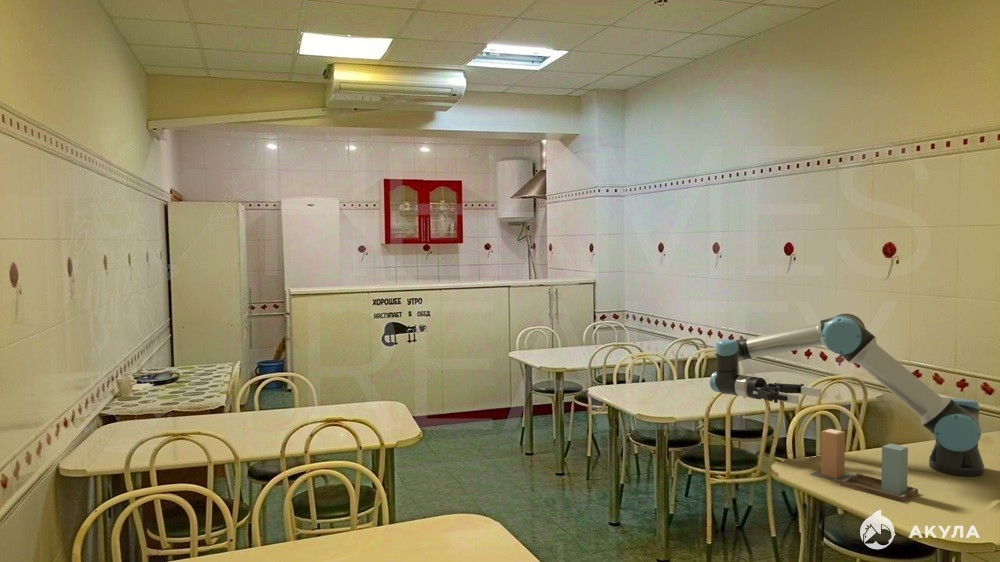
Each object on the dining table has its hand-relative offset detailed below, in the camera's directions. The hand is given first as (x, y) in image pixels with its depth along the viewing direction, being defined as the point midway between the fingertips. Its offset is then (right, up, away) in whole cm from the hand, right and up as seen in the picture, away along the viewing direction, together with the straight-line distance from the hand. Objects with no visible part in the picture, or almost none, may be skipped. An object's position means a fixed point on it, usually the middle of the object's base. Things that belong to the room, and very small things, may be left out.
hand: (809, 396), depth 230 cm
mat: (+5, -25, -6) cm, 26 cm away
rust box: (+5, -24, -6) cm, 25 cm away
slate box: (+15, -25, -23) cm, 37 cm away
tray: (+12, -25, -19) cm, 34 cm away
